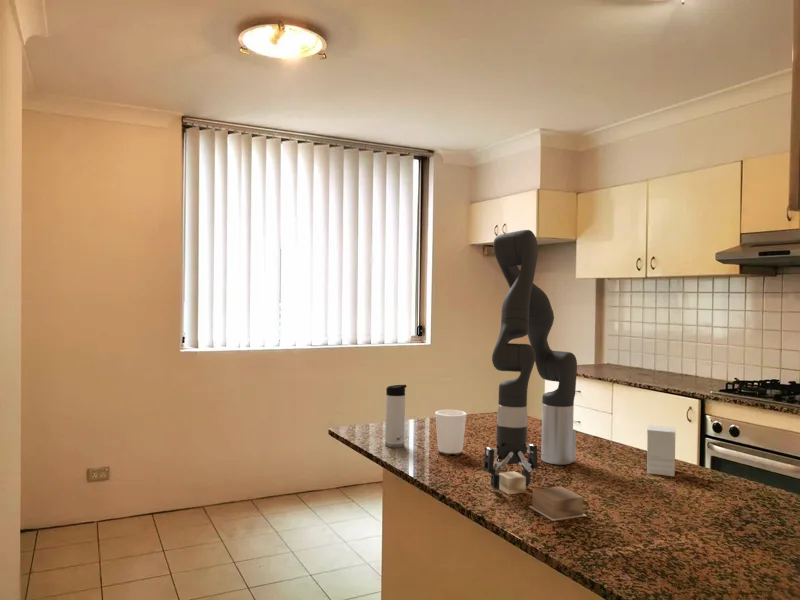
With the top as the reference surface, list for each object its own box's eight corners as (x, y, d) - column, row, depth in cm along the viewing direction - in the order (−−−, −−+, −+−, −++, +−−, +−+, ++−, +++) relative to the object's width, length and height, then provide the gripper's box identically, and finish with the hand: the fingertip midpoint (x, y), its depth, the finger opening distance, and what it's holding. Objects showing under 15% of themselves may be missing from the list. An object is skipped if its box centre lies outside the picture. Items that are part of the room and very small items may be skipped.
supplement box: (674, 470, 176) (675, 427, 176) (674, 477, 169) (675, 432, 169) (647, 466, 179) (648, 424, 179) (646, 473, 172) (647, 429, 172)
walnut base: (560, 503, 143) (561, 486, 143) (583, 514, 135) (583, 497, 135) (532, 506, 140) (532, 489, 140) (553, 519, 132) (553, 501, 132)
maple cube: (514, 490, 155) (514, 471, 155) (525, 496, 150) (525, 476, 150) (497, 492, 153) (497, 473, 153) (508, 499, 148) (508, 478, 148)
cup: (429, 455, 187) (430, 414, 187) (439, 447, 196) (440, 408, 196) (460, 458, 183) (461, 417, 183) (469, 451, 193) (470, 411, 192)
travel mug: (403, 448, 194) (404, 386, 194) (383, 447, 196) (384, 385, 195) (406, 443, 200) (408, 383, 200) (387, 442, 202) (388, 382, 201)
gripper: (527, 418, 158) (526, 480, 158) (479, 421, 152) (478, 485, 152) (544, 424, 151) (543, 489, 151) (495, 427, 145) (493, 495, 145)
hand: (510, 487), depth 152 cm, fingers open, 8 cm apart
